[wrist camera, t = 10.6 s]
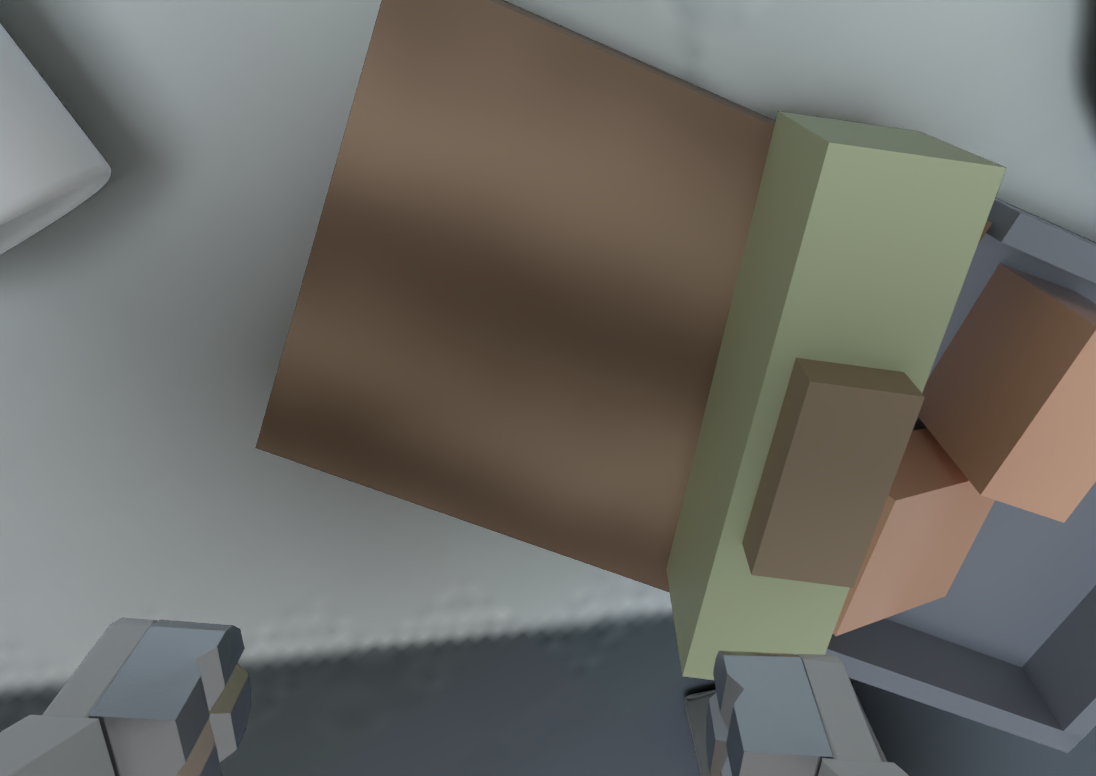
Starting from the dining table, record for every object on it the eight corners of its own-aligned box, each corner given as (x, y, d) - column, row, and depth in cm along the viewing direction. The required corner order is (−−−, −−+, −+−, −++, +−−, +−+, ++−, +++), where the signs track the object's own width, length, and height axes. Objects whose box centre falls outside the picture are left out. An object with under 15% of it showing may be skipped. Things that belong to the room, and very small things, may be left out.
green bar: (774, 583, 26) (822, 728, 21) (666, 568, 26) (687, 711, 21) (919, 131, 20) (1037, 180, 15) (778, 111, 20) (847, 153, 15)
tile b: (910, 407, 26) (980, 431, 26) (980, 495, 21) (1064, 522, 22) (999, 263, 24) (1074, 290, 24) (1097, 327, 19) (1188, 360, 20)
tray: (1018, 676, 31) (1068, 753, 28) (718, 569, 30) (735, 638, 26) (1319, 342, 25) (1426, 393, 22) (961, 182, 23) (1020, 213, 20)
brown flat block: (719, 557, 29) (734, 614, 27) (287, 402, 27) (255, 447, 24) (944, 196, 24) (992, 223, 21) (417, -38, 21) (393, -43, 19)
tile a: (885, 546, 28) (945, 596, 26) (778, 579, 26) (835, 636, 24) (941, 424, 26) (1010, 469, 24) (827, 448, 23) (895, 500, 22)
